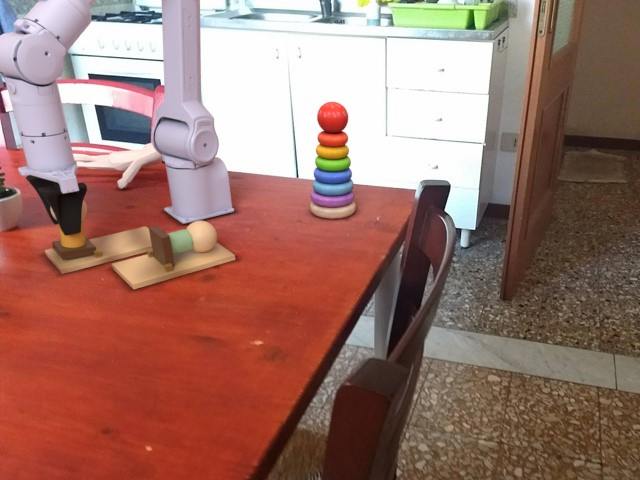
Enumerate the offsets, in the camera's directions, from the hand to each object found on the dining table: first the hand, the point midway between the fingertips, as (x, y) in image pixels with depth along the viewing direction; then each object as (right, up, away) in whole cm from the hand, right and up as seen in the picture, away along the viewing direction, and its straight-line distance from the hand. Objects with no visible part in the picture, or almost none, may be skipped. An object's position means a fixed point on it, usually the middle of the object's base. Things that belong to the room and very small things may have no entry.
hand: (66, 227), depth 90 cm
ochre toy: (+2, +1, +1) cm, 3 cm away
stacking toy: (+36, +5, +21) cm, 42 cm away
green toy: (+17, -4, +3) cm, 17 cm away
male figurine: (-6, +13, +34) cm, 37 cm away
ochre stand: (+3, -3, +5) cm, 7 cm away
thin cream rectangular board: (+15, -5, +2) cm, 16 cm away
